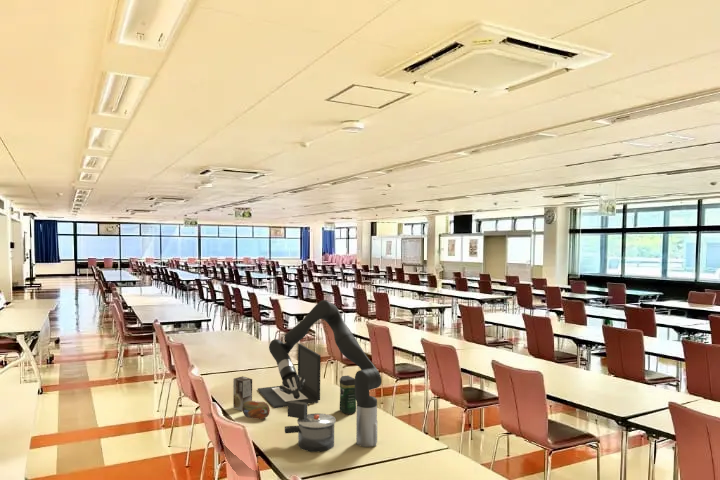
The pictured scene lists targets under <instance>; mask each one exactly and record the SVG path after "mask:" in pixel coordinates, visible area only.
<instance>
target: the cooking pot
mask: <svg viewBox="0 0 720 480" xmlns="http://www.w3.org/2000/svg"><path fill="white" fill-rule="evenodd" d="M297 433H298V438H297V439H298V443H297V445H298V448H299V449H301V450H303V451H306V452H312V453H315V452H316V453H317V452H325V450H326V451H329V450H330V449H333V448H334V446H335V424H333V425H331V426H329V427H325V428H306V427H303V426H300V425H299V424H298V425H287V426H284V434H297Z"/></svg>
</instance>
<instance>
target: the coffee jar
mask: <svg viewBox="0 0 720 480" xmlns="http://www.w3.org/2000/svg"><path fill="white" fill-rule="evenodd" d="M339 411H340V412H341V413H343V414H348V415H349V414H354V413H357V401H356V398H355V377H352V376H350V375H341V377H340V378H339Z"/></svg>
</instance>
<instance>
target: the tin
mask: <svg viewBox="0 0 720 480" xmlns="http://www.w3.org/2000/svg"><path fill="white" fill-rule="evenodd" d="M270 409H271V408H270V406H269V403H268V402H265V401H258V400H257V401H256V400H252V401H247V402H245V403H244V405H243V408H242V410H243V411H242V413H243V415H244V416H245V417H246V418H248V419H257V420H264V419H266V418H268V417H269V415H270V413H271V410H270Z"/></svg>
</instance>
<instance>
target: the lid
mask: <svg viewBox="0 0 720 480" xmlns="http://www.w3.org/2000/svg"><path fill="white" fill-rule="evenodd" d="M287 417H288V418H295V419H297V420H296V421H297V424H298V426H299V425H300V426H303V427H306V428H325V427H329V426H331V425H333V424H334V425H335V424H336V420H337V419H336V417H335V416H333V415H331V414H326V413H318V412H317V413H309V414H308V404H307V403H305V402H298V401H289V402H288V407H287Z"/></svg>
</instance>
